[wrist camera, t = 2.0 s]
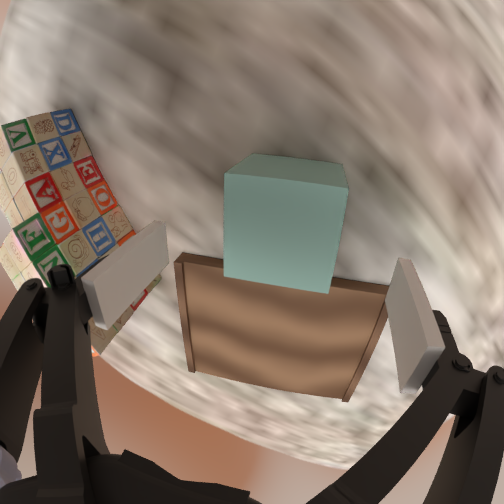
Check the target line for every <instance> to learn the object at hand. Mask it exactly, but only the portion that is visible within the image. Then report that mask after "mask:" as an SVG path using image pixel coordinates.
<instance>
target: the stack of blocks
mask: <svg viewBox="0 0 504 504" xmlns="http://www.w3.org/2000/svg"><path fill="white" fill-rule="evenodd" d="M0 205H1V207H2V209H3V211H4V212H5V216H6V218H7V220H8V222H9V223H10V225H11V227H12V230H11V231H10V233H9V234H8V236H7V238H6V239H5V240H4V243H3V245H2V246H1V247H0V262H1V264H2V265H3V267H4V269H5V271H6V272H7V274H8V275H9V277H10V279H11V280H12V282H13V284H14V285H15V287H16V289H17V290H19V288H20V287H21V285H22V284H23V283H24V282H26V281H27V280H28V279H31V278H39V279H41V280H42V283H43V286H44V287H51V285H50V282H49V279H48V276H47V272H48V271H49V270H50V269H51V268H52V267H54V266H56V265H59V264H69V265H70V266H71V267H72V271H73V274H74V278H75V279H76V278H77V277H78V276H79V275H80V274H82V273H83V272H84V271H85V270H87V269H88V268H89V267H90V266H92V265H93V264H94V263H95V262H97V261H98V260H99V259H100V258H102V257H105V256H107V255H110V254H111V253H112V252H114V251H115V250H116V249H117V248H119V247H120V246H121V245H123V244H124V243H125V242H126V241H128V240H129V239H130V238H132V237H133V236H134V235H136V233H135V232H134V230H133V228H132V226H131V225H130V223H129V221H128V219H127V217H126V216H125V214H124V212H123V210H122V209H121V207H120V205H118V203H117V201H116V199H115V198H114V196H113V194H112V192H111V190H110V189H109V187H108V185H107V183H106V181H105V180H104V178H103V176H102V174H101V172H100V170H99V168H98V166H97V165H96V162H95V160H94V158H93V157H92V153H91V151H90V149H89V147H88V145H87V143H86V141H85V139H84V137H83V135H82V133H81V131H80V128H79V126H78V124H77V122H76V119H75V117H74V115H73V113H72V111H71V109H65V110H59V111H54V112H50V113H44V114H39V115H35V116H31V117H27V118H26V119H22V120H18V121H15V122H11V123H8V124H5V125H1V127H0ZM160 280H161V276H160V274H158V275H157V276H156V277H155V278H154V280H153V281H152V282H151V283H150V284H149V285H148V286H147V287H146V288H145V289H144V290H143V291H142V293H141V294H140V295H139V296H138V297H137V298H136V299H135V300H134V301H133V302H132V304H131V305H130V306H129V307H128V308H127V309H126V310H125V311H124V312H123V314H122V315H121V316H120V317H119V318H118V319H117V320H116V321H115V323H114V324H113V325H112V326H111V327H110V328H109V329H108V330H105V329H102V328H100V327H97V326H96V325H95V322H94V319H93V317H92V318H91V319H90V320H89V321H88V322H89V325H90V334H91V349H92V356H99V355H101V353H102V352H103V351H104V350H105V348H106V347H107V345H108V344H109V343H110V342H111V340H112V339H113V338H114V336H115V335H116V334H117V333H118V332H119V331H120V330H121V329H122V327H123V326H124V325H125V323H126V322H127V321H128V320H129V318H130V317H131V316H132V314H133V312H134V311H135V310H136V309H137V308H138V306H139V305H140V304H141V303H142V301H143V300H144V299H145V297H146V296H147V295H148V293H150V292H151V291H152V289H153V288H154V287H155V286H156V285H157V283H158V282H159V281H160Z"/></svg>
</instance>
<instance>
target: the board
mask: <svg viewBox="0 0 504 504" xmlns="http://www.w3.org/2000/svg"><path fill="white" fill-rule="evenodd" d="M174 269H175V279H176V287H177V296H178V304H179V312H180V319H181V326H182V333H183V340H184V346H185V353H186V359H187V365H188V371H189V372H193V373H195V371H199V372H203V373H206V374H210V375H214V376H218V377H222V378H226V379H230V380H235V381H239V382H243V383H248V384H253V385H257V386H262V387H267V388H273V389H278V390H283V391H289V392H295V393H301V394H308V395H315V396H322V397H330V398H338V399H342V402H349V400H350V398H351V396H352V394H353V392H354V390H355V388H356V386H357V384H358V382H359V380H360V378H361V376H362V374H363V372H364V370H365V368H366V366H367V364H368V362H369V360H370V358H371V355H372V353H373V351H374V349H375V347H376V344H377V342H378V340H379V338H380V335H381V333H382V330H383V328H384V326H385V323H386V321H387V318H388V313H387V308H386V303H385V298H386V295H387V292H388V289H389V286H386V285H379V284H373V283H366V282H359V281H353V280H346V279H340V278H334V277H332V280H331V284H330V289H329V293H328V294H326V293H319V292H313V291H307V290H300V289H294V288H288V287H282V286H276V285H270V284H265V283H259V282H253V281H247V280H242V279H236V278H230V277H225V276H224V260H223V259H217V258H211V257H205V256H199V255H193V254H187V253H182V254H181V255H180V256H179V257H178V258H177V259H176V260H175V261H174Z"/></svg>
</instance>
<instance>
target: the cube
mask: <svg viewBox="0 0 504 504" xmlns="http://www.w3.org/2000/svg"><path fill="white" fill-rule="evenodd" d="M348 191H349V187H348V183H347V180H346V176H345V172H344V168H343V165H342V164H337V163H330V162H323V161H316V160H309V159H301V158H293V157H284V156H275V155H265V154H254V153H252V154H251V155H250V156H248V157H247V158H245V159H244V160H242V161H241V162H239V163H238V164H236V165H235V166H234V167H232V168H231V169H229V170H228V171H226V172H225V173H224V276H225V277H230V278H236V279H242V280H247V281H253V282H259V283H265V284H270V285H276V286H282V287H288V288H294V289H300V290H307V291H313V292H319V293H326V294H328V293H329V289H330V284H331V280H332V275H333V271H334V266H335V261H336V257H337V252H338V247H339V242H340V237H341V231H342V226H343V220H344V215H345V209H346V203H347V197H348Z"/></svg>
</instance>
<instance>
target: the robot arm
mask: <svg viewBox="0 0 504 504" xmlns="http://www.w3.org/2000/svg"><path fill="white" fill-rule="evenodd" d="M168 264H169V259H168V248H167V236H166V223H165V222H161V221H153V222H152V223H150V224H149V225H148V226H146V227H145V228H144V229H142V230H141V231H140V232H138V233H137V234H136V235H134V236H133V237H132V238H130V239H129V240H128V241H126V242H125V243H124V244H123V245H121V246H120V247H119V248H117V249H116V250H115V251H114V252H112V253H111V254H110V255H107V256H105V257H102V258H100V259H99V260H98V261H97V262H95V263H94V264H93V265H92V266H90V267H89V268H88V269H87V270H85V271H84V272H83V273H82V274H80V275H79V276H78V277H77V278H76V279H75V278H74V274H73V271H72V267H71V266H70V265H69V264H59V265H56V266H54V267H52V268H51V269H50V270H49V271H48V272H47V276H48V279H49V282H50V285H51V287H44V286H43V283H42V280H41V279H39V278H31V279H28V280H27V281H26V282H24V283H23V284H22V285H21V287H20V288H19V290H18V292H17V293H16V295H15V297H14V298H13V300H12V301H11V303H10V305H9V306H8V308H7V310H6V312H5V313H4V315H3V317H2V319H1V320H0V504H261V503H260V502H258V501H256V500H254V499H252V498H250V497H249V495H250V491H246V490H241V489H237V488H233V487H229V486H225V485H221V484H217V483H205V482H204V483H203V482H192V481H184V480H180V479H178V478H176V477H175V476H173V475H172V474H170V473H168V472H167V471H166V470H164V469H163V468H161V467H160V466H158V465H156V464H155V463H154V462H153V461H150V460H148V459H146V458H143V457H141V456H139V455H137V454H134V453H132V452H130V451H128V450H124V452H123V453H122V455H118V454H110V452H109V450H108V448H107V446H106V443H105V439H104V435H103V430H102V425H101V419H100V413H99V407H98V402H97V395H96V387H95V379H94V370H93V361H92V349H91V334H90V325H89V322H88V321H89V320H90V319H91V318H92V317H93V319H94V322H95V325H96V326H97V327H100V328H102V329H105V330H108V329H109V328H110V327H111V326H112V325H113V324H114V323H115V321H116V320H117V319H118V318H119V317H120V316H121V315H122V314H123V312H124V311H125V310H126V309H127V308H128V307H129V306H130V305H131V304H132V302H133V301H134V300H135V299H136V298H137V297H138V296H139V295H140V294H141V293H142V291H143V290H144V289H145V288H146V287H147V286H148V285H149V284H150V283H151V282H152V281H153V280H154V278H155V277H156V276H157V275H158V274H159V273H160V272H161V271H162V270H163V269H164V268H165V267H166V266H167V265H168ZM385 303H386V308H387V313H388V318H389V323H390V329H391V334H392V340H393V346H394V352H395V358H396V365H397V372H398V380H399V388H400V393H415V394H416V393H417V391H418V390H419V388H420V387H421V385H422V387H423V391H422V392H421V393H420V395H419V396H418V397H417V398H416V400H415V401H414V402H413V403H412V405H411V406H410V407H409V408H408V409H407V410H406V412H405V413H404V414H403V415H402V416H401V417H400V419H399V420H398V421H397V422H396V423H395V424H394V425H393V426H392V428H391V429H390V430H389V431H388V432H387V433H386V434H385V435H384V436H383V437H382V438H381V439H380V440H379V441H378V442H377V443H376V444H375V445H374V446H373V447H372V448H371V449H370V450H369V451H368V452H367V453H366V454H365V455H364V456H363V457H362V458H361V459H360V460H359V461H358V462H357V463H356V464H355V465H354V466H352V467H351V468H350V469H349V470H348V471H347V472H346V473H345V474H343V475H342V476H341V477H340V478H339V479H338V480H336V481H335V482H334V483H333V484H331V485H329V486H328V487H327V488H326V489H324V490H323V491H322V492H320V493H319V494H318V495H316V496H315V497H314V498H313V499H311V500H310V501H308V502H307V503H306V504H378V503H379V502H380V501H381V500H382V499H383V498H384V497H385V496H386V495H387V494H388V493H389V492H390V491H391V490H392V489H393V487H394V486H395V485H396V484H397V483H398V482H399V481H400V479H401V478H402V477H403V476H404V475H405V474H406V472H407V471H408V470H409V469H410V467H411V466H412V465H413V464H414V463H415V461H416V460H417V459H418V457H419V456H420V455H421V453H422V452H423V451H424V450H425V448H426V447H427V445H428V444H429V443H430V441H431V440H432V439H433V437H434V436H435V434H436V433H437V431H438V430H439V428H440V427H441V425H442V424H443V422H444V421H445V419H446V418H447V416H448V414H449V413H451V414H454V415H456V416H455V420H454V423H453V427H452V430H451V434H450V437H449V440H448V443H447V446H446V449H445V451H444V454H443V457H442V460H441V462H440V465H439V468H438V471H437V473H436V475H435V478H434V480H433V482H432V485H431V487H430V489H429V492H428V494H427V496H426V498H425V500H424V502H423V504H491V501H492V498H493V494H494V491H495V487H496V484H497V480H498V476H499V472H500V467H501V462H502V458H503V452H504V369H503V368H502V367H499V366H492V367H490V368H489V370H488V371H487V372H486V373H484V372H481V371H478V370H475V369H473V366H472V363H471V361H470V360H469V359H468V358H467V357H466V356H465V355H463V354H461V353H459V351H458V348H457V345H456V343H455V340H454V337H453V335H452V334H451V329H450V327H449V324H448V322H447V319H446V318H445V316H444V315H443V314H442V313H441V312H440V311H437V310H432V308H431V306H430V303H429V301H428V298H427V296H426V293H425V291H424V288H423V286H422V284H421V281H420V279H419V277H418V274H417V272H416V270H415V268H414V265H413V263H412V261H411V260H409V259H403V258H398V261H397V264H396V267H395V271H394V274H393V277H392V280H391V283H390V286H389V289H388V292H387V295H386V298H385ZM32 319H33V324H32ZM41 371H42V383H41V408H40V409H36V410H35V411H34V415H33V430H34V449H35V461H36V471H37V475H36V476H32V477H29V478H25V479H21V478H22V475H21V472H20V471H19V470H18V469H17V462H18V460H19V457H20V454H21V451H22V446H23V443H24V438H25V433H26V428H27V424H28V419H29V415H30V411H31V406H32V403H33V399H34V395H35V392H36V388H37V384H38V381H39V378H40V374H41Z"/></svg>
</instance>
